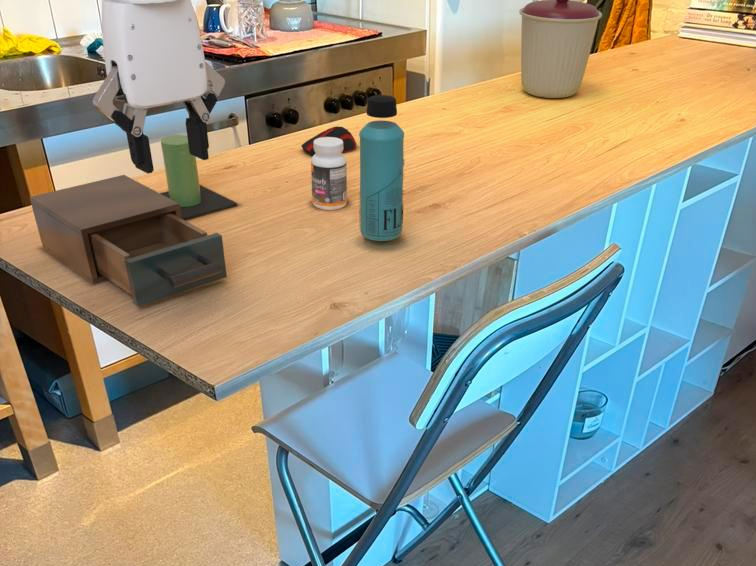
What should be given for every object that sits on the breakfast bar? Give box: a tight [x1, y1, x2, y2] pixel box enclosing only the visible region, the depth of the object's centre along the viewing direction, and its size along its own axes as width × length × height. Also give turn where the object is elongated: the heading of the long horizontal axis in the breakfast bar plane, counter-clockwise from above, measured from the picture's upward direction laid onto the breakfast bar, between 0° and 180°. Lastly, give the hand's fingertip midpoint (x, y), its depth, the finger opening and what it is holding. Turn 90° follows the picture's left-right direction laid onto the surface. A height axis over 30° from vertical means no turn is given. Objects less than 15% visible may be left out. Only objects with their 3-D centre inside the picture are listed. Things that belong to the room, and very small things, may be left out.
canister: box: [519, 0, 603, 99], centre depth 183 cm, size 18×18×21 cm
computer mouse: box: [300, 126, 357, 157], centre depth 153 cm, size 6×11×4 cm, turn 133°
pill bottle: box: [310, 137, 348, 211], centre depth 130 cm, size 6×6×10 cm
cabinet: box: [29, 174, 182, 285], centre depth 115 cm, size 16×15×8 cm
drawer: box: [88, 212, 228, 307], centre depth 107 cm, size 19×13×6 cm
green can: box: [160, 134, 201, 207], centre depth 129 cm, size 5×5×10 cm
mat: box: [159, 184, 238, 221], centre depth 132 cm, size 12×12×1 cm
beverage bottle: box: [358, 94, 406, 242], centre depth 115 cm, size 6×7×20 cm
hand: (172, 162), depth 94 cm, fingers open, 6 cm apart
